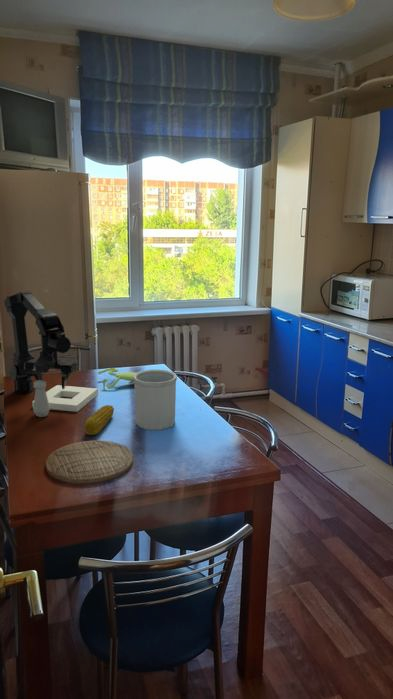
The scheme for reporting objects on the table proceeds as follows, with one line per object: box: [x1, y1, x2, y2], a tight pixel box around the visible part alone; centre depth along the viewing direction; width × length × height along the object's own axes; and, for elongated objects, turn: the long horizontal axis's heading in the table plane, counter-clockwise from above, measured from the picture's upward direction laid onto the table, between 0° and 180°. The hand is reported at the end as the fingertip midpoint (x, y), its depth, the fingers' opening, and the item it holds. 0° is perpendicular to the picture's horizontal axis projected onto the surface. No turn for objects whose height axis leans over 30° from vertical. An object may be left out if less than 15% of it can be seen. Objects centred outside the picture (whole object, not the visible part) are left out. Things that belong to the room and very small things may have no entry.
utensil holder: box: [133, 369, 178, 431], centre depth 178 cm, size 15×15×18 cm
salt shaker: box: [32, 379, 51, 418], centre depth 184 cm, size 6×6×13 cm
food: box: [84, 404, 115, 436], centre depth 177 cm, size 21×6×6 cm, turn 172°
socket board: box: [31, 384, 99, 413], centre depth 200 cm, size 18×20×2 cm
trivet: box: [45, 440, 134, 485], centre depth 150 cm, size 25×25×2 cm
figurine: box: [98, 367, 137, 391], centre depth 222 cm, size 18×27×6 cm
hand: (51, 387), depth 192 cm, fingers open, 9 cm apart
